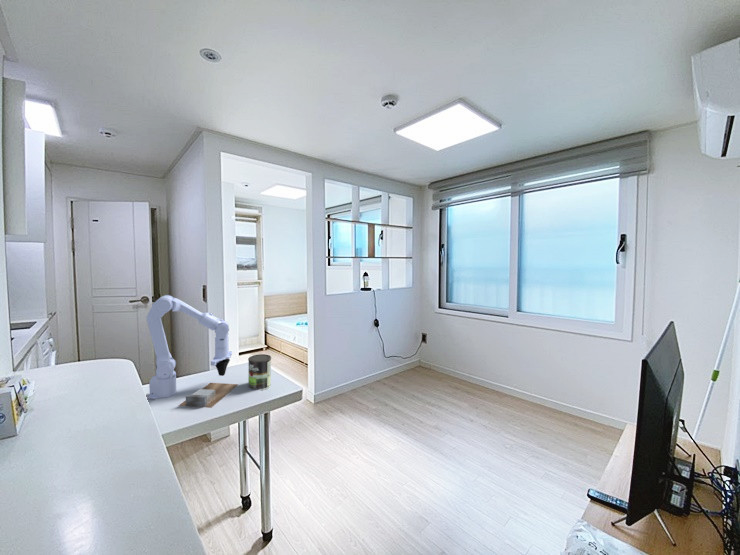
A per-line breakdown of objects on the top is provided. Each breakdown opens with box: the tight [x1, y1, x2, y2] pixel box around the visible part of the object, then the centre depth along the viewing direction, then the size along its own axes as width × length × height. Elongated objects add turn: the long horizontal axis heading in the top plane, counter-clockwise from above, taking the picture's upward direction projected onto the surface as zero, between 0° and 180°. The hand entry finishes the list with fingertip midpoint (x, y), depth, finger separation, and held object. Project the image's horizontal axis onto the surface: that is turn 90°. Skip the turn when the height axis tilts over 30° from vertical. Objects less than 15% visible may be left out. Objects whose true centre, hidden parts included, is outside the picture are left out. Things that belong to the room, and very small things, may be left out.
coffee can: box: [247, 353, 272, 391], centre depth 144 cm, size 10×10×14 cm
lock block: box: [191, 388, 215, 404], centre depth 127 cm, size 7×6×3 cm
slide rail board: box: [178, 382, 239, 409], centre depth 133 cm, size 14×22×5 cm, turn 176°
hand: (221, 375), depth 142 cm, fingers closed
